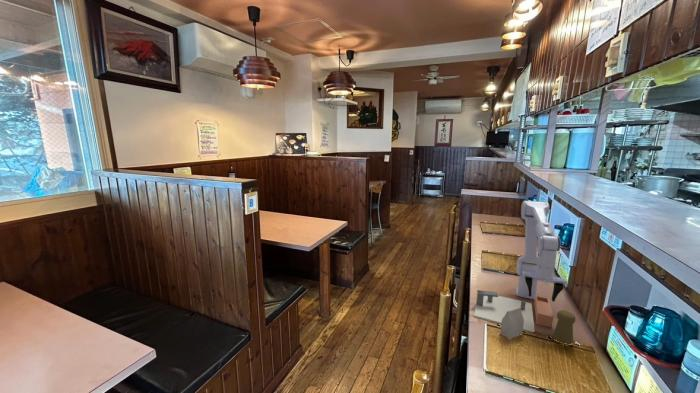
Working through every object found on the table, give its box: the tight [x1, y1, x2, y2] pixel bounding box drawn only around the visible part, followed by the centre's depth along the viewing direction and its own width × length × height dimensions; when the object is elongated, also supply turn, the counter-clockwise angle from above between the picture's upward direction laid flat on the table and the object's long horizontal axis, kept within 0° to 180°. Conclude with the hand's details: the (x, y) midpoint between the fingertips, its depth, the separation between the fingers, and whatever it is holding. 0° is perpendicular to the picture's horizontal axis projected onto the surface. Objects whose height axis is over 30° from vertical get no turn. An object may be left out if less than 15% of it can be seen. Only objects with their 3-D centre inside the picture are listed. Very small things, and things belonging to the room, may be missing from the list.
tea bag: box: [500, 307, 524, 340], centre depth 104 cm, size 4×7×10 cm, turn 113°
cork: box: [552, 310, 576, 344], centre depth 101 cm, size 6×6×11 cm
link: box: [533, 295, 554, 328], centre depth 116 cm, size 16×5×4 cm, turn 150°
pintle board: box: [473, 289, 535, 333], centre depth 120 cm, size 22×21×6 cm
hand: (541, 297), depth 113 cm, fingers open, 7 cm apart
